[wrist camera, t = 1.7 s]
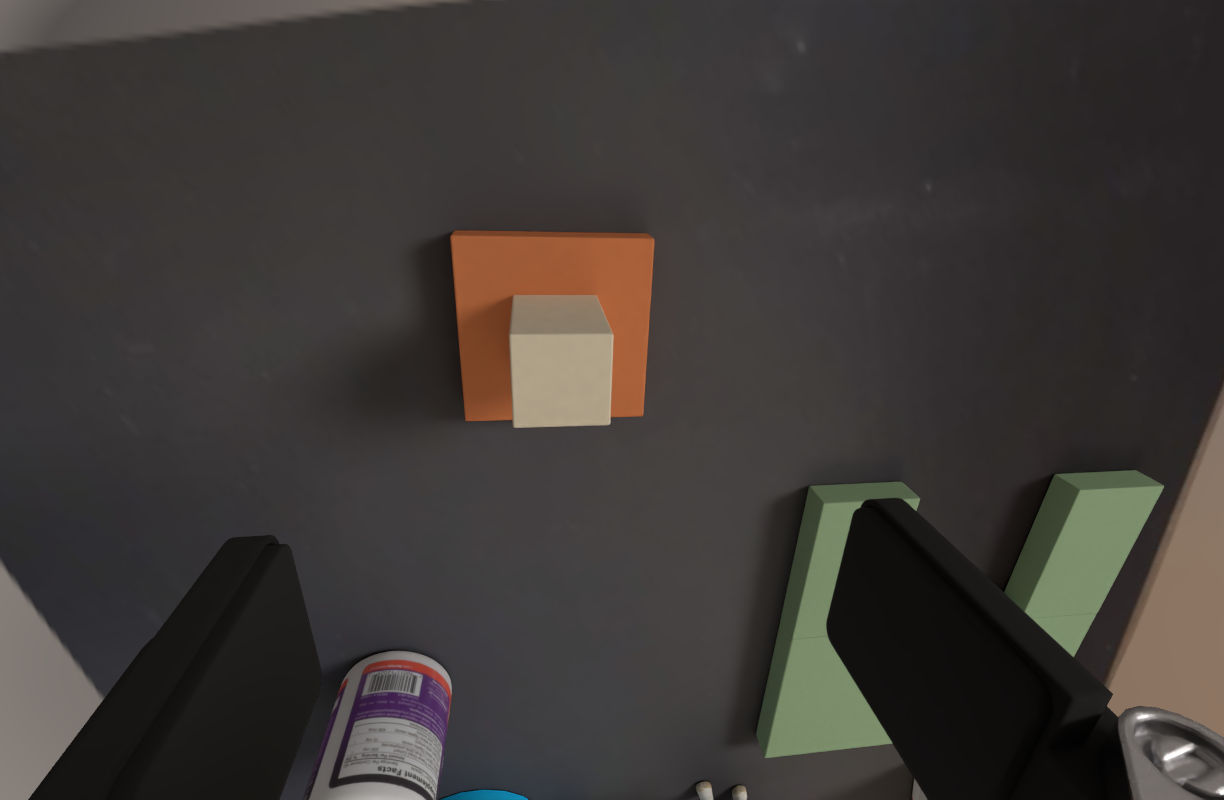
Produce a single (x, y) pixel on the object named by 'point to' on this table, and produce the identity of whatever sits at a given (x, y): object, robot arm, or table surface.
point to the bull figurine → (706, 795)
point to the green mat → (1040, 585)
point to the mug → (485, 795)
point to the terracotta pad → (550, 272)
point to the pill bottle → (385, 732)
